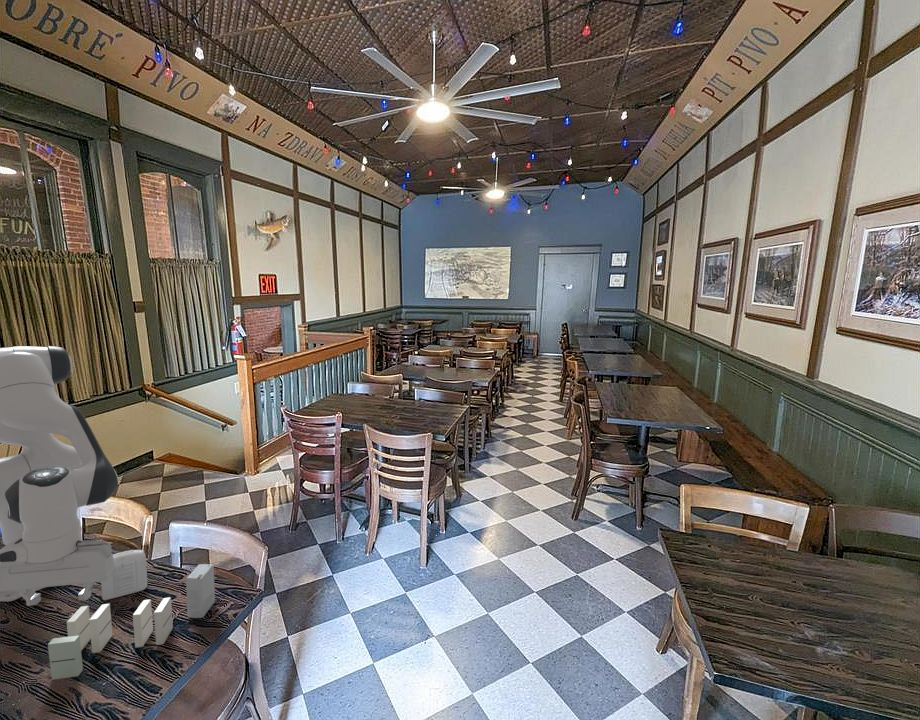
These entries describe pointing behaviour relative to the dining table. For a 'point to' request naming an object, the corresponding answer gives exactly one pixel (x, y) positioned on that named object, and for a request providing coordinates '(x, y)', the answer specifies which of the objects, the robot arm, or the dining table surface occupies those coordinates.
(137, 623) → the domino
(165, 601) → the domino
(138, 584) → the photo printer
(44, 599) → the dining table surface
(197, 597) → the skincare box
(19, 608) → the dining table surface
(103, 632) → the domino
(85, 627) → the domino
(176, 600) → the dining table surface
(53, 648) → the pale green domino
